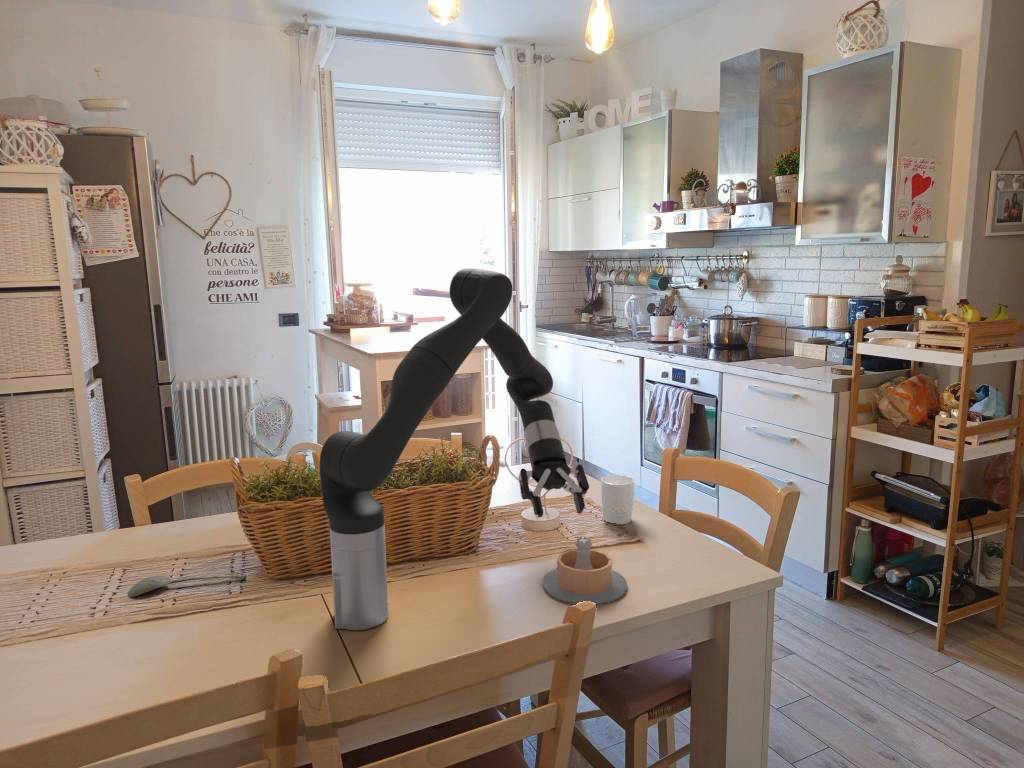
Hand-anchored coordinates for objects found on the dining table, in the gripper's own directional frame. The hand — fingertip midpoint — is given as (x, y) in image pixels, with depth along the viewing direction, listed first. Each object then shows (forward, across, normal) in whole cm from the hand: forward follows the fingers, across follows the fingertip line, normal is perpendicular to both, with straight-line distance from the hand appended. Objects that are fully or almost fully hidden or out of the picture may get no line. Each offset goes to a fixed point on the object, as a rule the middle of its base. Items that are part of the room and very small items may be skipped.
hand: (560, 513), depth 148 cm
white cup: (-6, +21, +21) cm, 30 cm away
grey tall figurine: (+15, +1, -2) cm, 15 cm away
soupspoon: (+1, -73, +15) cm, 74 cm away
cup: (+16, +1, -1) cm, 16 cm away
